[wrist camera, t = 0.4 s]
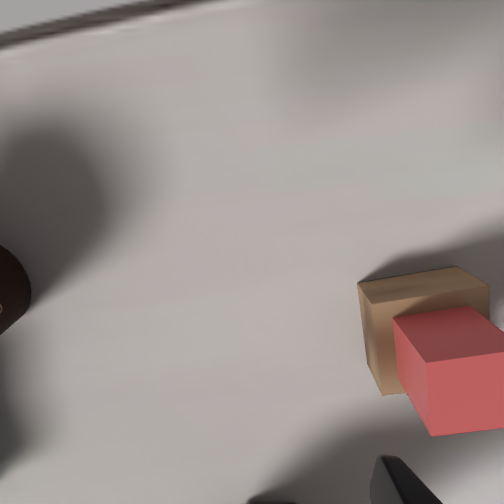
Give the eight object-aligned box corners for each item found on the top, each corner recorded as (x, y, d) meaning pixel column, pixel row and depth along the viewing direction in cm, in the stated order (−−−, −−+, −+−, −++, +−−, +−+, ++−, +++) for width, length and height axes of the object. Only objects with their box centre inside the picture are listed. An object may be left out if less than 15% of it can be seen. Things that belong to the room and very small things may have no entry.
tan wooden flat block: (460, 350, 22) (489, 381, 19) (367, 364, 22) (382, 395, 19) (457, 266, 20) (489, 285, 17) (357, 283, 21) (371, 304, 18)
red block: (470, 369, 18) (523, 425, 15) (398, 379, 19) (430, 436, 15) (469, 305, 17) (525, 348, 14) (392, 317, 18) (425, 363, 14)
